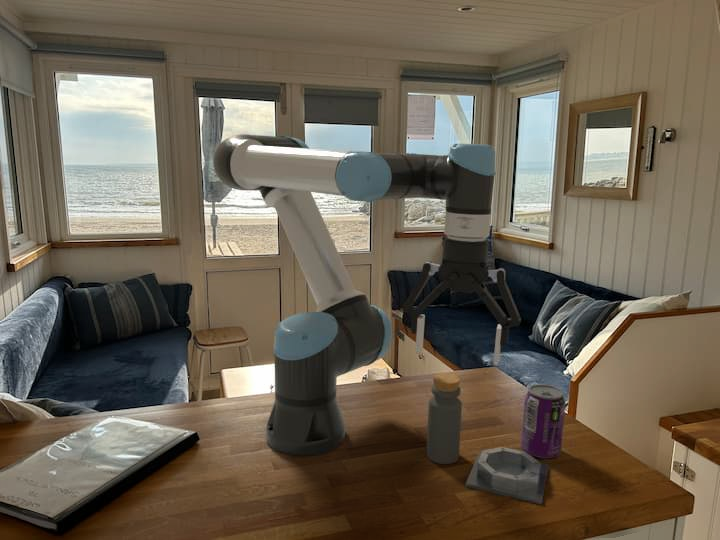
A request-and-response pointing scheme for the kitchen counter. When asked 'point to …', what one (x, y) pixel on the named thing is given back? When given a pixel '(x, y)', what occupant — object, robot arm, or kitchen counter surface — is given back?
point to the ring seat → (509, 474)
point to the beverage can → (543, 421)
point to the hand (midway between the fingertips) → (456, 357)
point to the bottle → (444, 420)
